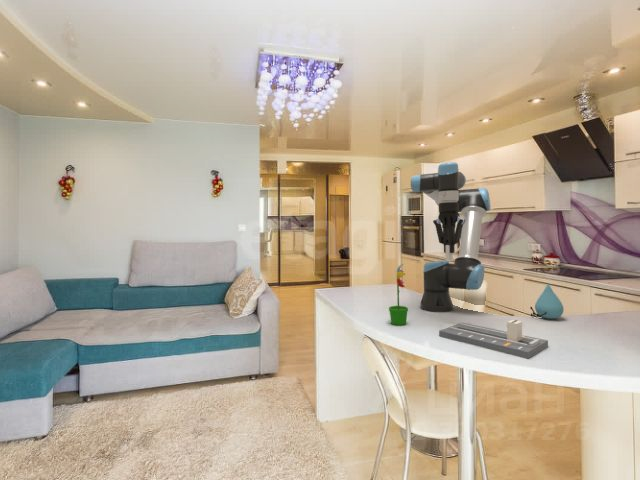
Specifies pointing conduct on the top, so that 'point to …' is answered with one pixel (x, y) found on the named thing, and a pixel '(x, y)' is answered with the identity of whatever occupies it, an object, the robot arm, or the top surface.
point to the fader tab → (514, 330)
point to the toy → (548, 305)
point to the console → (494, 339)
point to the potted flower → (398, 312)
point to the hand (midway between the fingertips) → (449, 261)
